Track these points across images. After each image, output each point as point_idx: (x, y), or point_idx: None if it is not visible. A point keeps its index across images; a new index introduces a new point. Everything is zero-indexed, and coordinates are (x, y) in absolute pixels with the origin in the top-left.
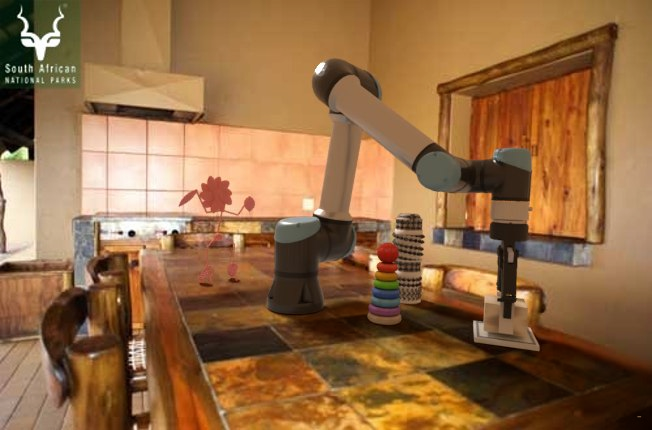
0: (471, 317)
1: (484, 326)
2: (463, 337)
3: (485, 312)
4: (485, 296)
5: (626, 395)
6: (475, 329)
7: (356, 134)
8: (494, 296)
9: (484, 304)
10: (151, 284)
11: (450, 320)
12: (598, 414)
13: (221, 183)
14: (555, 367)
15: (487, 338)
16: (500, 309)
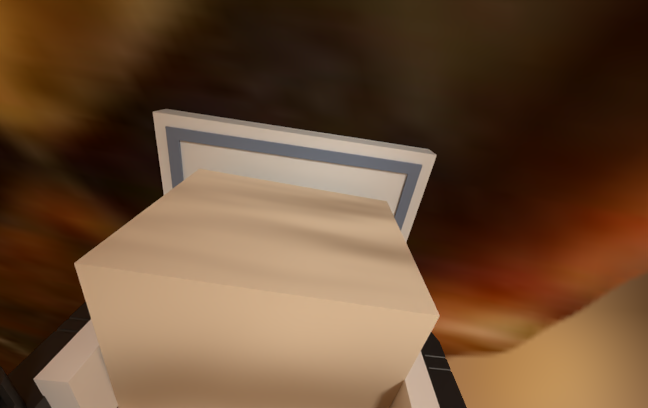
0: (556, 161)
1: (187, 179)
2: (210, 62)
3: (139, 220)
4: (350, 306)
5: (7, 371)
6: (283, 139)
7: None
8: (374, 363)
9: (369, 253)
10: None
11: (504, 22)
12: None
13: None
14: (75, 305)
15: (167, 170)
16: (91, 321)
